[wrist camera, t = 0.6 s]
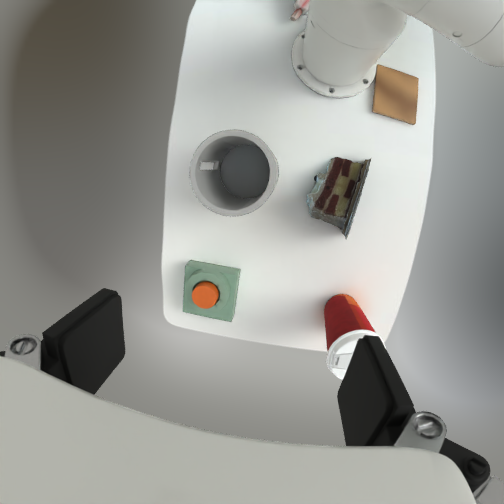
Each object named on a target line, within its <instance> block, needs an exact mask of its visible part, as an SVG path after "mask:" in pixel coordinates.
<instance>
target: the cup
mask: <svg viewBox="0 0 504 504" xmlns="http://www.w3.org/2000/svg"><path fill="white" fill-rule="evenodd" d="M241 145H252V146H256V147H259V148H260V149H261V150H262V151H263V152H264V154H265V155H266V158H267V160H268V163H269V168H270V178H269V183H268V186H267V188H266V190H265V192H264V193H262V194H261V195H259V196H257V197H254V198H241V197H237V196H235V195H233V194H232V193H230V192H229V191H228V190H227V189H226V188H225V186H224V185H223V183H222V180H221V176H220V166H221V163H222V160H223V158H224V157H225V155H226V154H227V153H228V152H229V151H230V150H232V149H233V148H236V147H238V146H241ZM201 162H210V163H214V167H213V169H212V170H200V164H201ZM278 168H279V167H278V163H277V160H276V158H275V156H274V154H273V153H272V151H271V150H270V149H269V147H268V146H267V145H266V144H265V143H264V142H263V141H262V140H261V139H260V138H258V137H257V136H255V135H253V134H252V133H249V132H246V131H242V130H225V131H221V132H218V133H215V134H213V135H212V136H210V137H208V138H207V139H206V140H204V141H203V142H202V143H201V144H200V145H199V147H198V148H197V150H196V151H195V153H194V155H193V157H192V160H191V164H190V171H189V173H190V175H189V176H190V183H191V186H192V190H193V191H194V193H195V195H196V197H197V198H198V200H199V201H200V202H201V203H202V204H203V205H204V206H205V207H206V208H207V209H210V211H212V212H215V213H218V214H220V215H224V216H230V217H231V216H233V217H234V216H242V215H245V214H249V213H251V212H253V211H255V210H256V209H258V208H259V207H260V206H262V205H263V204H264V203H265V202H266V201H267V199H268V198H269V196H270V195H271V193H272V192H273V190H274V188H275V186H276V184H277V181H278V176H279V169H278Z"/></svg>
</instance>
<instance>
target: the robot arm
mask: <svg viewBox="0 0 504 504" xmlns="http://www.w3.org/2000/svg"><path fill="white" fill-rule="evenodd" d="M407 14H408V15H409V16H413V17H415V18H416V19H418V20H420V21H421V22H423V23H425V24H426V25H428V26H430V27H431V28H433V29H434V30H436V31H437V32H439V33H440V34H442V35H443V36H445V37H446V38H448V39H449V40H451V41H452V42H454V43H455V44H456V45H458V46H460V47H461V48H462V49H463V50H465V51H466V52H467V53H469V54H470V55H472V56H473V57H474V58H476V59H478V60H479V61H481V62H483V63H485V64H488V65H490V66H495V67H503V66H504V0H310V2H309V9H308V17H307V24H306V30H305V31H303V32H302V33H301V34H300V35H299V36H298V37H297V38H296V40H295V42H294V44H293V47H292V54H291V56H292V64H293V67H294V70H295V72H296V73H297V75H298V77H299V78H300V79H301V80H302V82H303V83H305V84H306V85H307V86H308V87H309V88H311V89H312V90H314V91H316V92H318V93H320V94H322V95H325V96H329V97H335V98H346V97H351V96H355V95H357V94H359V93H361V92H363V91H364V90H365V89H366V88H367V87H368V86H369V85H370V84H371V83H372V81H373V79H374V77H375V74H376V66H377V65H376V61H377V60H378V59H379V58H380V57H381V56H382V55H383V53H384V52H385V51H386V50H387V49H388V48H389V47H390V46H391V45H392V44H393V42H394V41H395V40H396V39H397V38H398V37H399V36H400V34H401V33H402V31H403V29H404V27H405V24H406V19H407ZM303 38H304V39H303ZM298 68H301V69H302V70H299V69H298ZM363 82H365V83H366V84H364V83H363ZM330 90H331V91H332V93H330V92H329V91H330ZM42 334H43V340H42V341H41V342H40V340H39V338H37V337H36V336H34V335H30V334H23V335H18V336H15V337H14V338H12V339H11V340H10V341H9V342H8V344H7V346H6V351H2V352H0V504H504V483H503V482H502V481H501V480H500V479H499V478H497V477H496V476H495V475H494V476H493V477H492V478H491V477H490V466H489V464H488V462H487V461H486V460H485V459H484V458H483V457H482V456H480V455H478V454H476V453H474V452H472V451H470V450H468V449H466V448H464V447H462V446H460V445H458V444H456V443H454V442H452V441H450V440H448V439H446V438H445V436H446V432H447V429H446V425H445V423H444V422H443V420H442V419H441V418H440V417H438V416H437V415H435V414H433V413H430V412H423V411H422V412H417V413H416V412H415V409H414V407H413V406H414V405H413V403H412V401H411V399H410V396H409V394H408V392H407V390H406V388H405V386H404V384H403V382H402V380H401V378H400V376H399V374H398V372H397V370H396V368H395V366H394V364H393V362H392V360H391V358H390V356H389V354H388V352H387V350H386V348H385V346H384V345H383V343H382V341H381V339H380V337H379V336H371V335H364V336H363V338H359V339H358V341H357V344H356V347H355V349H354V352H353V355H352V358H351V360H350V363H349V365H348V368H347V371H346V373H345V376H344V378H343V381H342V383H341V386H340V388H339V391H338V396H337V397H338V404H339V409H340V414H341V420H342V425H343V431H344V436H345V442H346V446H323V445H305V444H293V443H283V442H274V441H265V440H258V439H252V438H246V437H240V436H234V435H228V434H223V433H218V432H213V431H208V430H203V429H199V428H195V427H191V426H187V425H183V424H179V423H176V422H172V421H168V420H165V419H161V418H158V417H155V416H152V415H148V414H145V413H142V412H139V411H136V410H133V409H130V408H127V407H124V406H121V405H119V404H116V403H114V402H111V401H108V400H106V399H103V398H101V397H98V396H96V395H94V394H95V393H96V392H97V390H98V389H99V388H100V387H101V385H102V384H103V383H104V382H105V380H106V379H107V378H108V377H109V375H110V374H111V373H112V371H113V370H114V369H115V368H116V367H117V365H118V364H119V363H120V362H121V360H122V359H123V358H124V355H125V342H124V331H123V318H122V302H121V297H120V296H119V295H118V293H117V292H116V291H113V290H109V289H106V288H104V289H102V290H100V291H99V292H97V293H96V294H95V295H93V296H92V297H90V298H89V299H88V300H86V301H85V302H83V303H82V304H81V305H79V306H78V307H77V308H75V309H74V310H72V311H71V312H70V313H68V314H67V315H66V316H64V317H63V318H61V319H60V320H59V321H57V322H56V323H55V324H53V325H52V326H51V327H49V328H48V329H47V330H46V331H44V332H43V333H42Z"/></svg>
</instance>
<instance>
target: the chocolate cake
mask: <svg viewBox="0 0 504 504" xmlns="http://www.w3.org/2000/svg"><path fill="white" fill-rule="evenodd" d="M370 161H371V159H369V160H365V162H364V164H360V163H358V162H355V163H354V162H352V161H350V160H347V159H342V158H339V157H335V158H334V159H331V161H330V163H329V165H328V167H327V172H326V174H323V173H319V174H318V175H316V176H315V177H314V180H315V181H316V182H317V183H316V184H315V186H314V188H313V190H312V192H311V193H310V194H308V195H307V197H308V199H307V201H306V203H307V204H308V206H309V208H310V212H309V213H310V215H311V217H313V218H315V219H321V220H323V221H325V222H327V223H331V224H333V225H335V226H337V227H339V228H340V229H341V230H342V233H343V234H344V235H345V237H346V240H347V237H348V235H349V232H350V229H351V225H352V222H353V218H354V216H355V212H356V209H357V206H358V203H359V200H360V196H361V193H362V188H363V186H364V183H365V179H366V177H367V173H368V170H369V169H368V168H369V165H370Z"/></svg>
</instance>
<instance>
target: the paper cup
mask: <svg viewBox="0 0 504 504" xmlns="http://www.w3.org/2000/svg"><path fill="white" fill-rule="evenodd" d="M324 319H325V328H326V339H327V350H328V353H327V357H326V361H327V366H328V368H329V369H330V371H331V372H332V373H333V374H334V375H336V376H337V377H338V378H339V379H341V380H343V378H344V376H345V373H346V371H347V368H348V365H349V363H350V360H351V358H352V355H353V352H354V349H355V347H356V344H357V341H358V339H359V338H363V336H364V335H371V336H379V335H378V334H377V333H376V332H375V331H374V329H373V327H372V326H371V324H370V323H369V321H368V319H367V318H366V316H365V315H364V313H363V311H362V310H361V308H360V307H359V305H358V304H357V302H356V301H355V300H354V299H353V298H352V297H351V296H349V295H346V294H339V295H336V296H333V297H332V298H331V299H329V300H328V302H327V303H326V305H325V308H324ZM379 337H380V336H379ZM380 339H381V341H382V343H383V345H384V346H385V344H384V341H383V339H382V338H381V337H380ZM385 348H386V347H385Z"/></svg>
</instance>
